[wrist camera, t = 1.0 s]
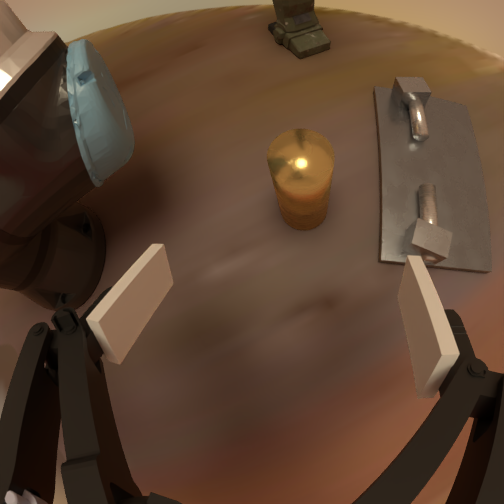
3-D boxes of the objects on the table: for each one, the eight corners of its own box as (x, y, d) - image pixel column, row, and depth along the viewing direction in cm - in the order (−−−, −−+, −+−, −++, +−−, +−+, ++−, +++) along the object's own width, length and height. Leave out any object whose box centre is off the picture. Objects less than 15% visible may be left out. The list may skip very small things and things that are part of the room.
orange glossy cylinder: (274, 223, 32) (258, 177, 22) (287, 182, 33) (277, 123, 22) (320, 235, 31) (326, 193, 20) (331, 193, 32) (339, 136, 21)
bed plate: (486, 273, 26) (507, 265, 22) (378, 262, 29) (389, 252, 25) (463, 110, 31) (474, 91, 26) (373, 91, 34) (377, 68, 29)
